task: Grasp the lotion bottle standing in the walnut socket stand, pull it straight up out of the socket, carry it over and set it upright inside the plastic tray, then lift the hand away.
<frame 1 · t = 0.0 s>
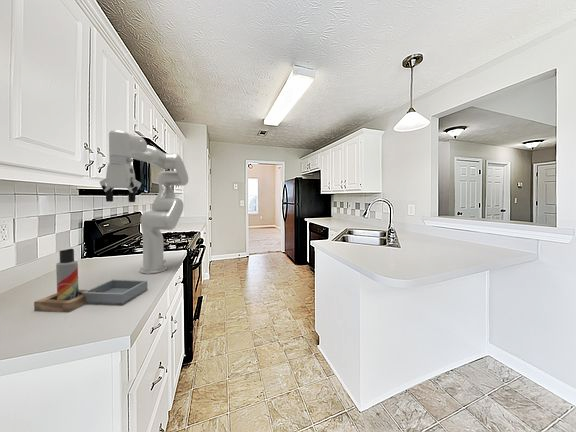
hand: (120, 201, 105), 37 cm above the table, tool pointing down, fingers open, 9 cm apart
fork: (70, 283, 110), on the table
tray: (117, 296, 96), on the table
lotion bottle: (68, 304, 88), resting in socket stand
socket stand: (68, 303, 88), on the table
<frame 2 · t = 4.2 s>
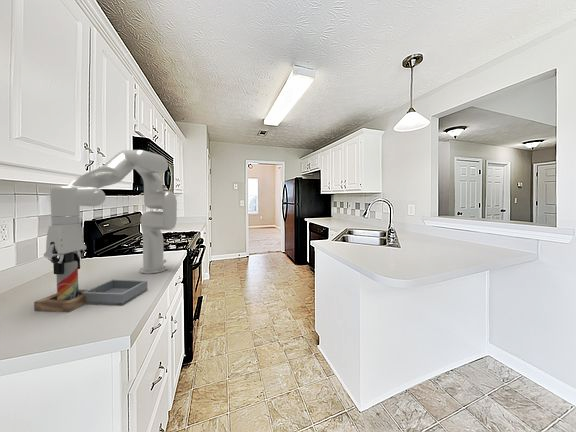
hand: (67, 270, 88), 12 cm above the table, tool pointing down, fingers closed on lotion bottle, 5 cm apart
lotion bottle: (68, 304, 88), resting in socket stand, touching gripper
everything else where it was.
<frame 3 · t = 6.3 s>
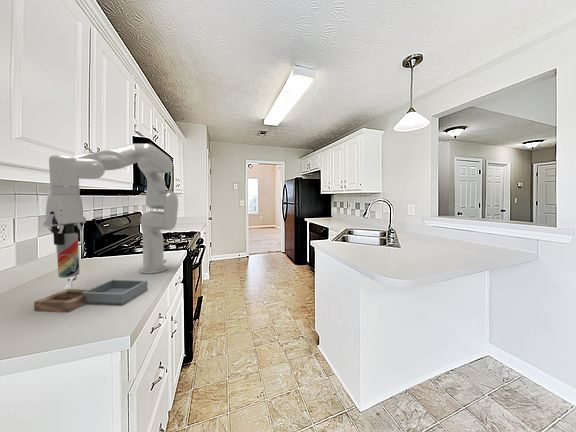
hand: (67, 242, 87), 22 cm above the table, tool pointing down, fingers closed on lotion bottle, 5 cm apart
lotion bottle: (69, 275, 88), point 10 cm above the table, touching gripper
everything else where it was.
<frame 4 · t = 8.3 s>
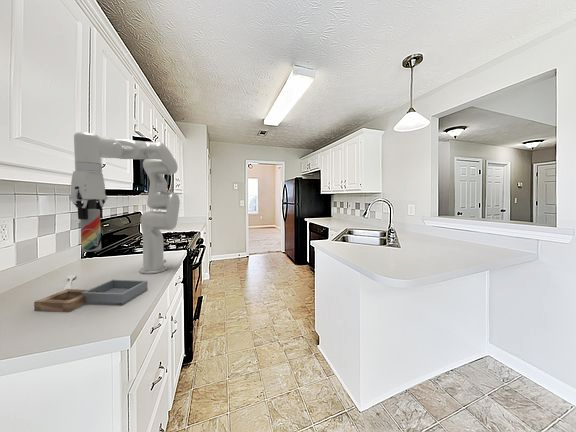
hand: (90, 218, 90), 31 cm above the table, tool pointing down, fingers closed on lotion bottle, 5 cm apart
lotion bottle: (91, 250, 91), point 19 cm above the table, touching gripper
everything else where it was.
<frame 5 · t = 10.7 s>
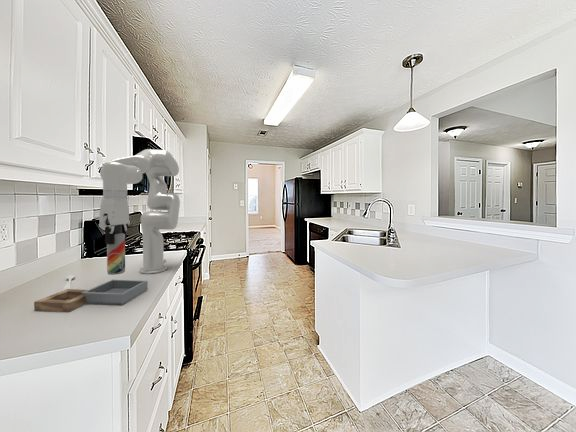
hand: (116, 242, 94), 21 cm above the table, tool pointing down, fingers closed on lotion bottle, 5 cm apart
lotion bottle: (116, 273, 95), point 9 cm above the table, touching gripper
everything else where it was.
when the fingers open (14 cm above the table, at t = 12.9 s): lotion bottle drops 1 cm, resting on tray.
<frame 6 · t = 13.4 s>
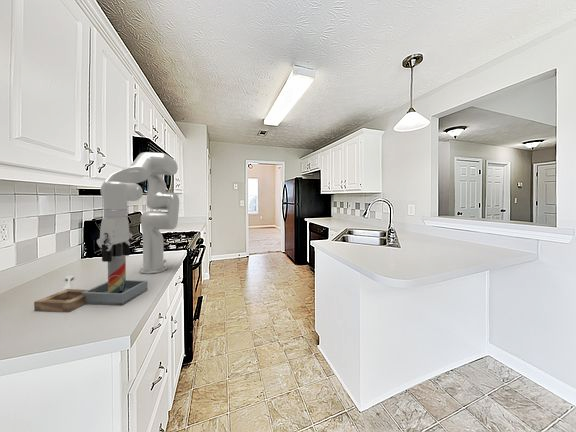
hand: (116, 258, 95), 15 cm above the table, tool pointing down, fingers open, 9 cm apart
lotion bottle: (117, 294, 96), point 1 cm above the table, touching tray
everything else where it was.
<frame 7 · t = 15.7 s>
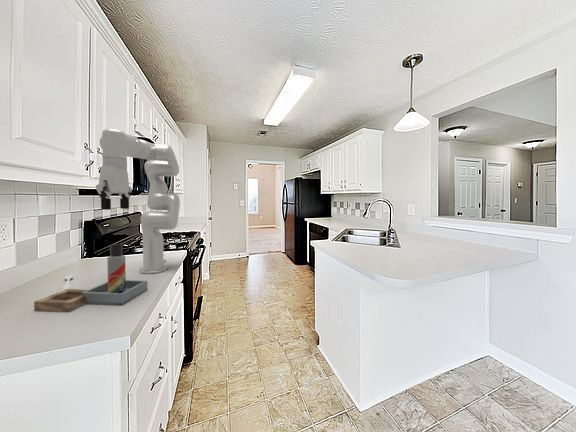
hand: (115, 209, 94), 34 cm above the table, tool pointing down, fingers open, 9 cm apart
nothing on the table moved.
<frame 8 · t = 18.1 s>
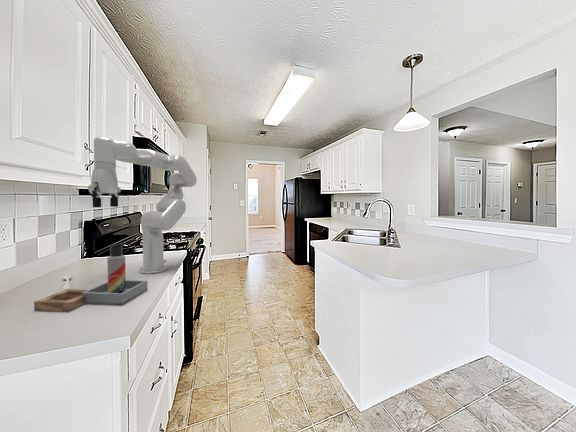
hand: (106, 206, 107), 34 cm above the table, tool pointing down, fingers open, 9 cm apart
at the end: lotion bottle inside the target area on the tray (0.0 cm from its centre), point 0.6 cm above the tray's base; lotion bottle tilted 0°; the gripper is holding nothing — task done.
